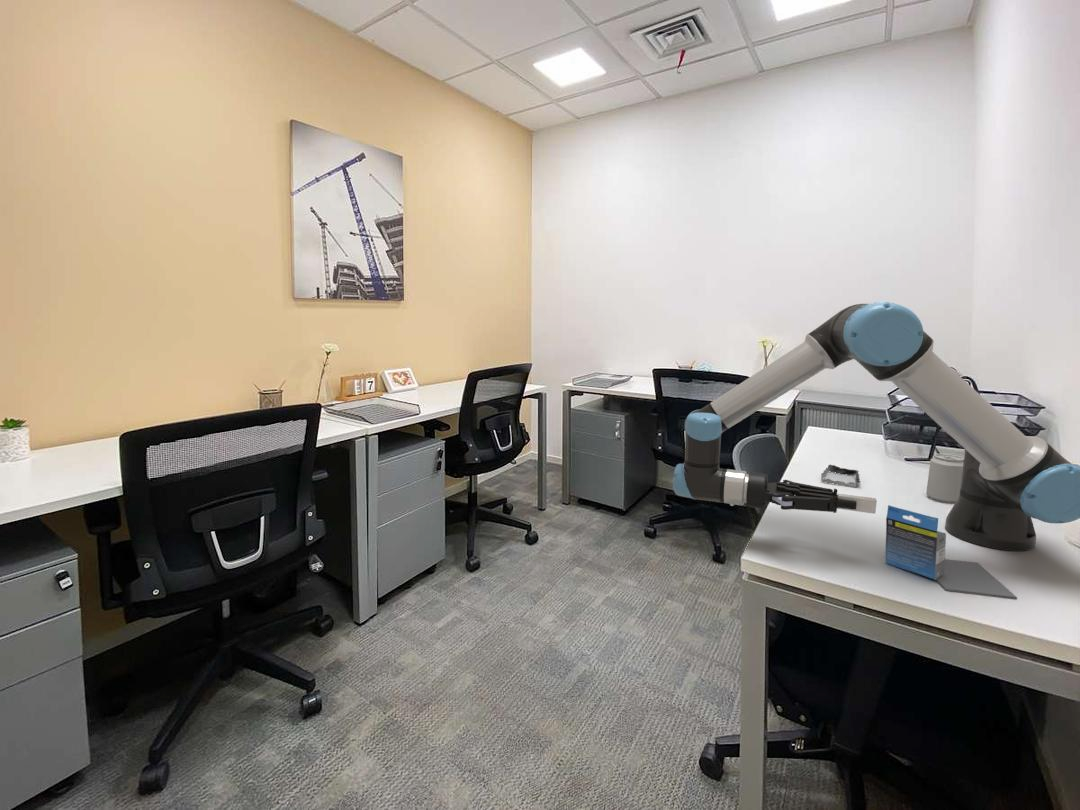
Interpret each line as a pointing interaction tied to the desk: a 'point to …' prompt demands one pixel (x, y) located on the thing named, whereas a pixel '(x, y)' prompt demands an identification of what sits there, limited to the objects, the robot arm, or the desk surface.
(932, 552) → the label tape box
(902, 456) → the desk surface
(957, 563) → the felt mat
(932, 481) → the can
